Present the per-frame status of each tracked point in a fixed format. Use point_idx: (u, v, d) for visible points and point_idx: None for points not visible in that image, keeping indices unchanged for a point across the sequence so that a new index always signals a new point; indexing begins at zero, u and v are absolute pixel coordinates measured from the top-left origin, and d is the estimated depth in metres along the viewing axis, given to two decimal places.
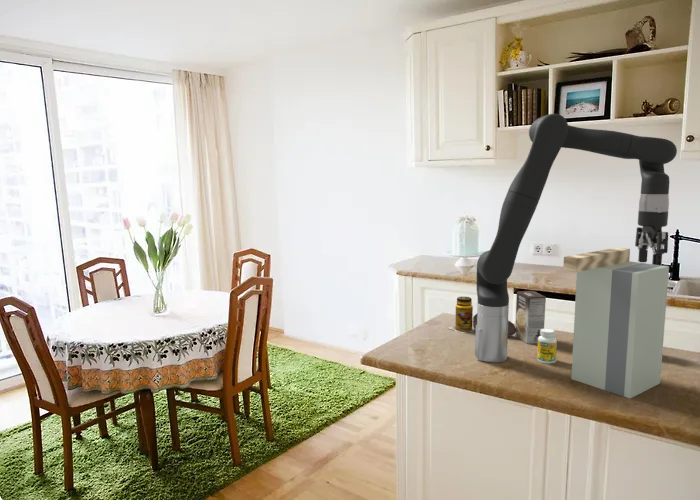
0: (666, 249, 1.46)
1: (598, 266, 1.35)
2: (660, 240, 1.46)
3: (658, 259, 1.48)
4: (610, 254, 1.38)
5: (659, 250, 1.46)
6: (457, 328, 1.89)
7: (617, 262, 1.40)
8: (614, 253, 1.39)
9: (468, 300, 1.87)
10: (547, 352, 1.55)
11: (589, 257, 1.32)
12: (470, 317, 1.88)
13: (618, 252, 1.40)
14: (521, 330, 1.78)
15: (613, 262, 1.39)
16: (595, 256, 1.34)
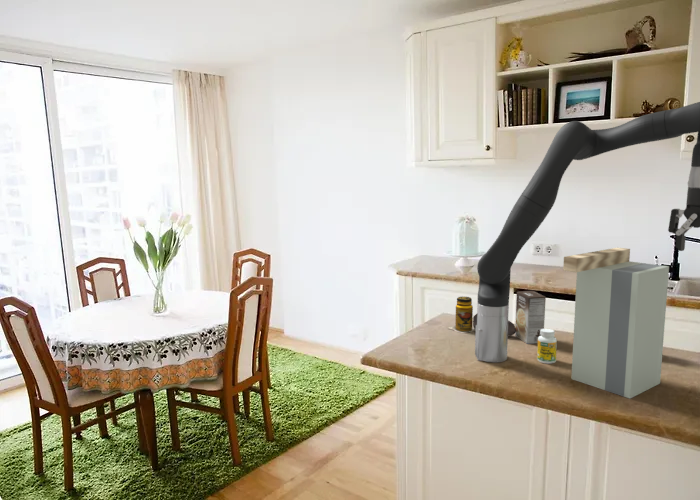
0: None
1: (598, 266, 1.35)
2: None
3: None
4: (610, 254, 1.38)
5: None
6: (457, 328, 1.89)
7: (617, 262, 1.40)
8: (614, 253, 1.39)
9: (468, 300, 1.87)
10: (547, 351, 1.55)
11: (589, 257, 1.32)
12: (470, 317, 1.88)
13: (618, 252, 1.40)
14: (521, 330, 1.78)
15: (613, 262, 1.39)
16: (595, 256, 1.34)
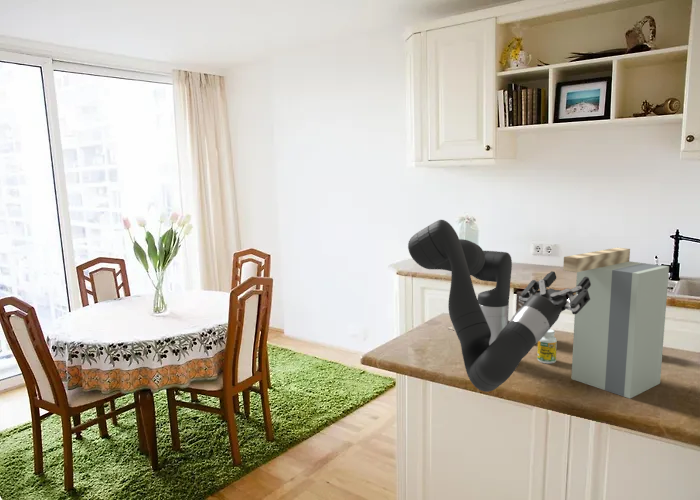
0: (532, 289, 1.26)
1: (598, 266, 1.35)
2: None
3: None
4: (610, 254, 1.38)
5: None
6: None
7: (617, 262, 1.40)
8: (614, 253, 1.39)
9: None
10: (547, 351, 1.55)
11: (589, 257, 1.32)
12: None
13: (618, 252, 1.40)
14: None
15: (613, 262, 1.39)
16: (595, 256, 1.34)
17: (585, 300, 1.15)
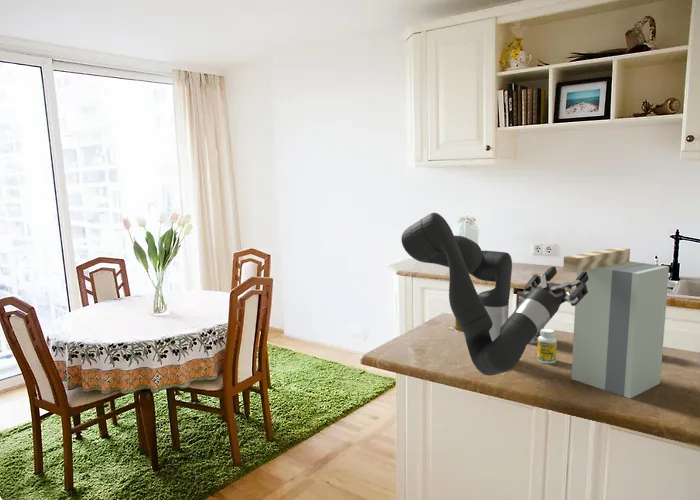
0: (534, 283, 1.35)
1: (598, 266, 1.35)
2: None
3: None
4: (610, 254, 1.38)
5: None
6: (457, 328, 1.89)
7: (617, 262, 1.40)
8: (614, 253, 1.39)
9: None
10: (547, 351, 1.55)
11: (589, 257, 1.32)
12: None
13: (618, 252, 1.40)
14: None
15: (613, 262, 1.39)
16: (595, 256, 1.34)
17: (583, 293, 1.23)
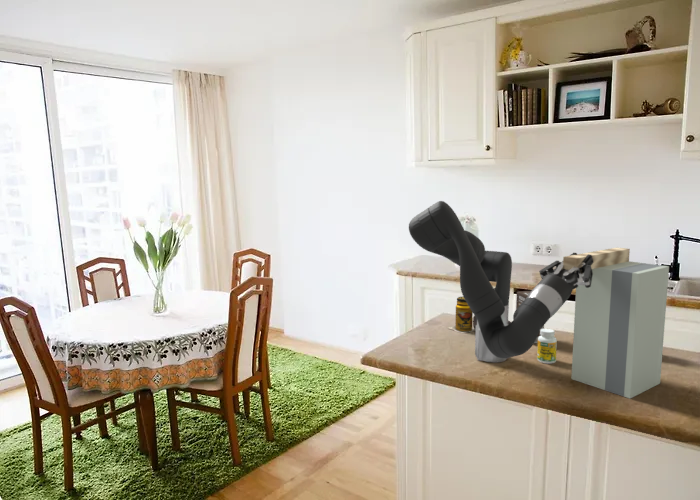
0: None
1: (598, 266, 1.35)
2: None
3: None
4: (610, 254, 1.38)
5: None
6: (457, 328, 1.89)
7: (617, 262, 1.41)
8: (614, 253, 1.39)
9: None
10: (547, 352, 1.55)
11: None
12: (470, 317, 1.88)
13: (618, 252, 1.40)
14: None
15: (612, 262, 1.39)
16: (595, 256, 1.34)
17: None
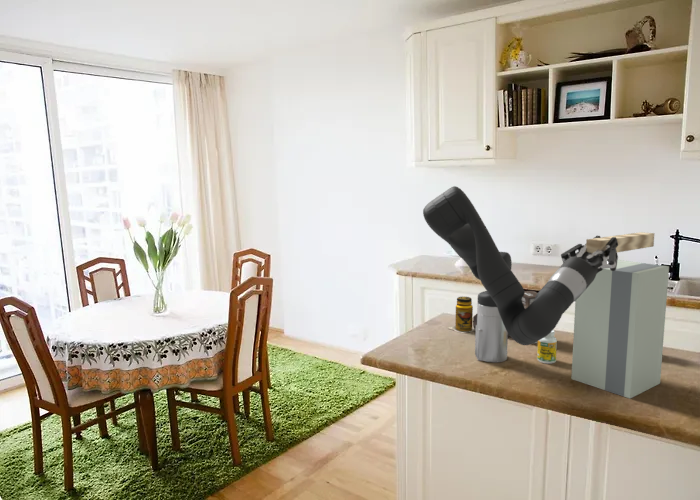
0: None
1: (622, 250, 1.29)
2: None
3: None
4: (634, 238, 1.32)
5: None
6: (457, 328, 1.89)
7: (641, 246, 1.35)
8: (638, 237, 1.33)
9: (468, 300, 1.87)
10: (547, 352, 1.55)
11: None
12: (470, 317, 1.88)
13: (642, 236, 1.34)
14: None
15: (637, 246, 1.33)
16: (619, 239, 1.28)
17: None
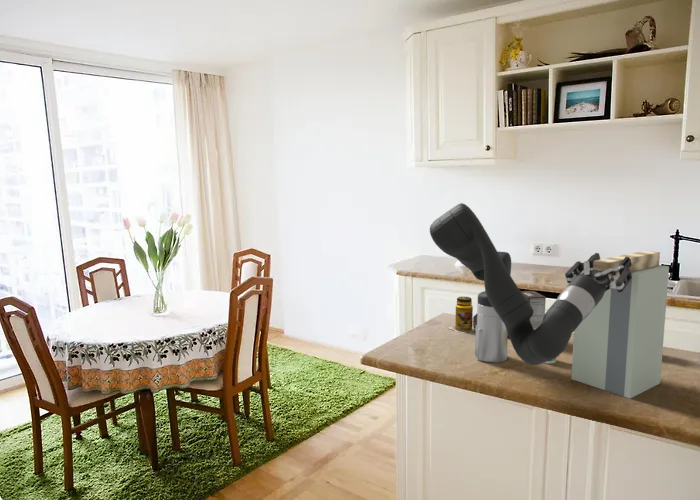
0: (577, 270, 1.30)
1: None
2: None
3: None
4: (640, 258, 1.31)
5: None
6: (457, 328, 1.89)
7: (647, 266, 1.34)
8: (644, 257, 1.33)
9: (468, 300, 1.87)
10: None
11: (620, 261, 1.26)
12: (470, 317, 1.88)
13: (648, 256, 1.34)
14: None
15: (643, 266, 1.33)
16: None
17: (628, 278, 1.20)
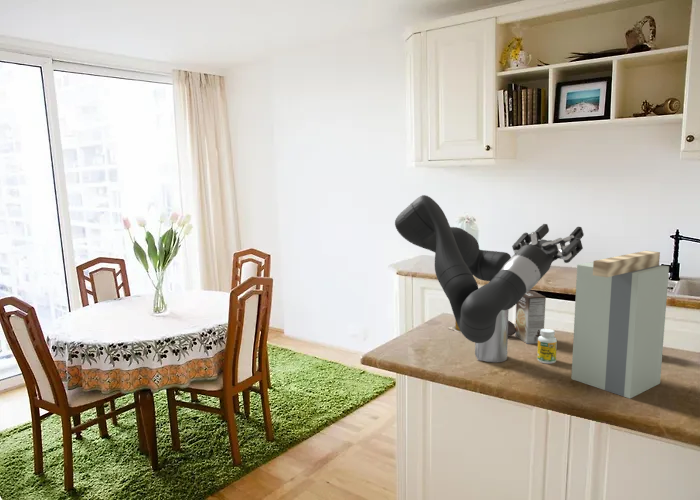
0: (524, 242, 1.23)
1: (628, 270, 1.29)
2: None
3: None
4: (640, 258, 1.31)
5: None
6: (457, 328, 1.89)
7: (647, 266, 1.34)
8: (644, 257, 1.33)
9: None
10: (547, 352, 1.55)
11: (620, 261, 1.26)
12: None
13: (648, 256, 1.34)
14: (521, 330, 1.78)
15: (643, 266, 1.33)
16: (626, 260, 1.27)
17: (577, 249, 1.11)
